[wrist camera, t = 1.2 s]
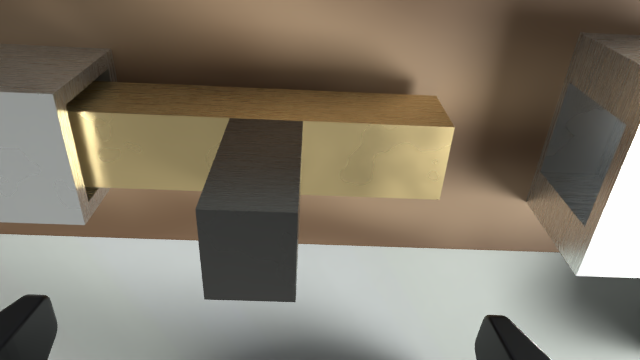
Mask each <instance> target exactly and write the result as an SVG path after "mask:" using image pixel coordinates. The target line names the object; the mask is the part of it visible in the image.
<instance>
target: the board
mask: <svg viewBox="0 0 640 360" xmlns="http://www.w3.org/2000/svg"><path fill="white" fill-rule="evenodd" d="M580 32H581V33H602V34H623V35H640V0H0V44H17V45H39V46H61V47H83V48H105V49H111V50H112V56H113V62H114V67H115V73H116V79H117V82H130V83H153V84H176V85H200V86H223V87H246V88H269V89H292V90H315V91H338V92H361V93H385V94H408V95H431V96H437V98H438V100H439V101H440V103H441V105H442V106H443V108H444V110H445V112H446V113H447V115H448V117H449V118H450V120H451V122H452V123H453V125H454V127H455V129H454V133H453V138H452V143H451V148H450V152H449V157H448V162H447V167H446V172H445V176H444V181H443V186H442V191H441V195H440V200H431V199H404V198H376V197H349V196H321V195H301V197H300V218H299V238H298V244H322V245H352V246H383V247H413V248H443V249H473V250H503V251H533V252H559V250H558V249H557V247H556V246H555V244H554V243H553V241H552V240H551V238H550V237H549V235H548V234H547V232H546V231H545V229H544V228H543V226H542V225H541V223H540V222H539V221H538V219H537V218H536V216H535V215H534V213H533V212H532V210H531V209H530V207H529V206H528V204H527V203H526V200H527V196H528V193H529V190H530V187H531V184H532V181H533V178H534V175H535V171H536V168H537V165H538V162H539V159H540V156H541V153H542V150H543V146H544V143H545V140H546V137H547V134H548V131H549V128H550V125H551V121H552V118H553V115H554V112H555V109H556V106H557V103H558V100H559V96H560V93H561V90H562V87H563V84H564V81H565V78H566V75H567V71H568V68H569V65H570V62H571V59H572V56H573V53H574V49H575V46H576V43H577V40H578V37H579V34H580ZM201 193H202V191H184V190H156V189H129V188H110V190H109V191H108V193H107V194H106V196H105V197H104V198H103V200H102V201H101V203H100V204H99V206H98V207H97V209H96V210H95V211H94V213H93V214H92V216H91V217H90V219H89V220H88V222H87V223H86V225H67V224H38V223H8V222H0V234H20V235H51V236H81V237H111V238H141V239H171V240H198V231H197V221H196V211H195V209H196V206H197V203H198V201H199V198H200V196H201Z"/></svg>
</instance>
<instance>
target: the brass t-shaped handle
mask: <svg viewBox="0 0 640 360" xmlns="http://www.w3.org/2000/svg"><path fill="white" fill-rule="evenodd" d="M66 109H67V113H68V118H69V122H70V126H71V130H72V134H73V139H74V143H75V147H76V151H77V156H78V160H79V164H80V168H81V172H82V177H83V181H84V185H85V187H101V188H129V189H156V190H184V191H202V193H201V196H200V198H199V201H198V203H197V206H196V209H195V211H196V221H197V231H198V241H199V250H200V260H201V270H202V280H203V290H204V299H209V300H243V301H277V302H295V300H296V279H297V259H298V238H299V218H300V197H301V195H321V196H349V197H376V198H404V199H431V200H440V195H441V191H442V186H443V181H444V176H445V172H446V167H447V162H448V157H449V152H450V148H451V143H452V138H453V133H454V129H455V127H454V125H453V123H452V122H451V120H450V118H449V117H448V115H447V113H446V112H445V110H444V108H443V106H442V105H441V103H440V101H439V100H438V98H437V96H431V95H408V94H385V93H361V92H338V91H315V90H292V89H269V88H246V87H223V86H200V85H176V84H153V83H130V82H107V81H93V82H92V83H91V84H89V85H88V86H87V87H86V88H85V89H84V90H82V91H81V92H80V93H79V94H78V95H77V96H75V97H74V98H73V99H72V100H71V101H70V102H68V103H67V104H66Z"/></svg>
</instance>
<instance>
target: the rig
mask: <svg viewBox="0 0 640 360" xmlns="http://www.w3.org/2000/svg"><path fill="white" fill-rule="evenodd" d="M93 81H107V82H117V79H116V73H115V67H114V62H113V56H112V50H111V49H105V48H83V47H61V46H39V45H17V44H0V222H8V223H38V224H67V225H86V223H87V222H88V220H89V219H90V217H91V216H92V214H93V213H94V211H95V210H96V209H97V207H98V206H99V204H100V203H101V201H102V200H103V198H104V197H105V196H106V194H107V193H108V191H109V190H110V188H101V187H85V185H84V181H83V177H82V172H81V168H80V164H79V160H78V156H77V151H76V147H75V143H74V139H73V134H72V130H71V126H70V122H69V118H68V113H67V109H66V104H67V103H68V102H70V101H71V100H72V99H73V98H74V97H75V96H77V95H78V94H79V93H80V92H81V91H82V90H84V89H85V88H86V87H87V86H88V85H89V84H91V83H92V82H93ZM526 203H527V204H528V206H529V207H530V209H531V210H532V212H533V213H534V215H535V216H536V218H537V219H538V221H539V222H540V223H541V225H542V226H543V228H544V229H545V231H546V232H547V234H548V235H549V237H550V238H551V240H552V241H553V243H554V244H555V246H556V247H557V249H558V250H559V252H560V253H561V255H562V256H563V257H564V259H565V260H566V262H567V263H568V265H569V266H570V268H571V269H572V271H573V272H574V274H575V275H576V276H591V277H623V278H640V35H623V34H602V33H581V32H580V34H579V37H578V40H577V43H576V46H575V49H574V53H573V56H572V59H571V62H570V65H569V68H568V71H567V75H566V78H565V81H564V84H563V87H562V90H561V93H560V96H559V100H558V103H557V106H556V109H555V112H554V115H553V118H552V121H551V125H550V128H549V131H548V134H547V137H546V140H545V143H544V146H543V150H542V153H541V156H540V159H539V162H538V165H537V168H536V171H535V175H534V178H533V181H532V184H531V187H530V190H529V193H528V196H527V200H526Z"/></svg>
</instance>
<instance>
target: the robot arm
mask: <svg viewBox="0 0 640 360" xmlns="http://www.w3.org/2000/svg"><path fill="white" fill-rule="evenodd" d="M56 333H57V320H56V317H55V314H54V310H53V307H52V304H51V301H50V298H49V297H48V296H46V295H25V296H23V297H21V298H20V299H18V300H17V301H15V302H14V303H12V304H11V305H9V306H8V307H7V308H5V309H4V310H2V311H1V312H0V360H47V359H48V356H49V354H50V351H51V348H52V345H53V342H54V339H55V337H56ZM475 353H476V359H477V360H551V359H550V358H549V357H548V356H547V355H546V354H545V353H544V352H543V351H542V350H541V349H540V348H539V347H538V346H537V345H536V344H535V343H534V342H533V341H532V340H530V339H529V338H528V337H527V336H526V335H525V334H524V333H523V332H522V331H521V330H520V329H519V328H518V327H517V326H516V325H515V324H514V323H513V322H512V321H511V320H510V319H508V318H507V317H505V316H502V315H487V316H485V317H484V319H483V321H482V324H481V327H480V330H479V332H478V335H477V338H476V341H475Z"/></svg>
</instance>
